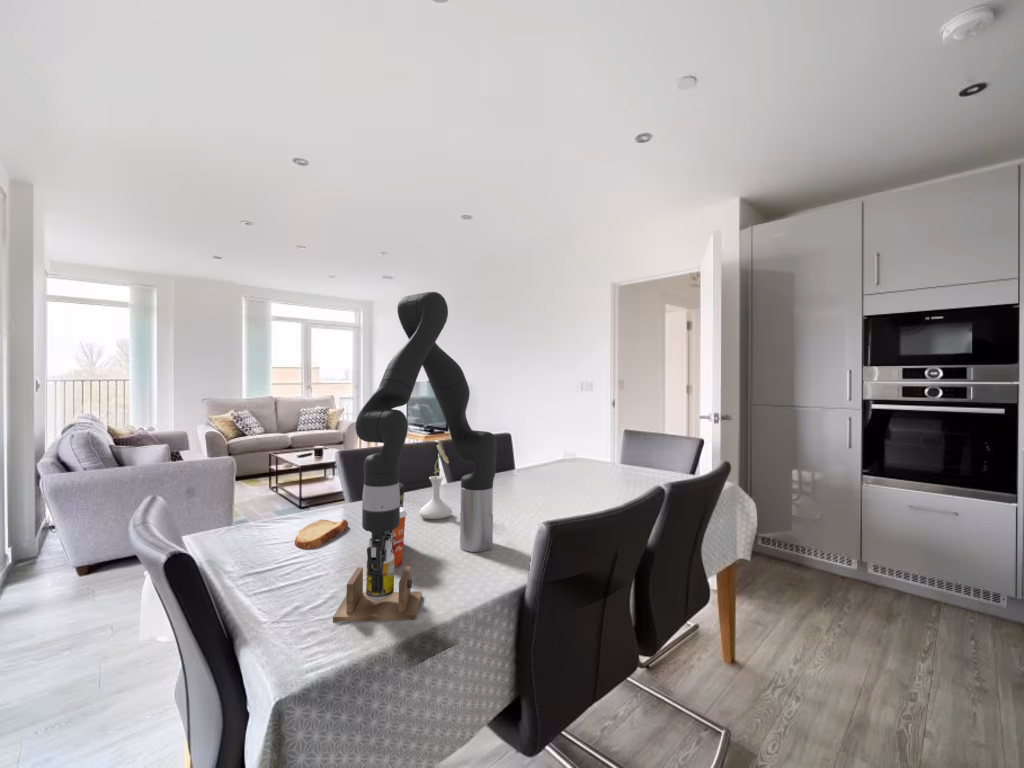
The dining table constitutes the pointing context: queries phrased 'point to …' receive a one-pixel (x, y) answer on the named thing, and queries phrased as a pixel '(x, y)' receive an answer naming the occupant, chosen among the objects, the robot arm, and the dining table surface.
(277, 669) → the dining table surface
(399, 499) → the robot arm
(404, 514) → the paper cup
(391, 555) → the supplement bottle
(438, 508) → the flower in vase
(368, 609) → the holder
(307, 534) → the slice of bread
